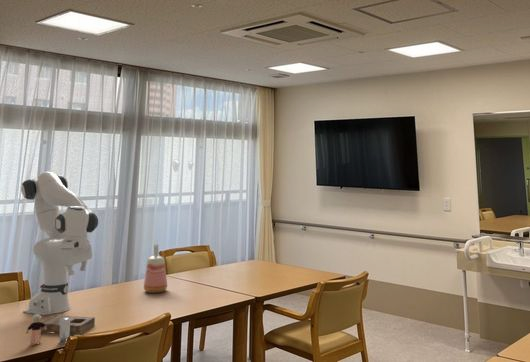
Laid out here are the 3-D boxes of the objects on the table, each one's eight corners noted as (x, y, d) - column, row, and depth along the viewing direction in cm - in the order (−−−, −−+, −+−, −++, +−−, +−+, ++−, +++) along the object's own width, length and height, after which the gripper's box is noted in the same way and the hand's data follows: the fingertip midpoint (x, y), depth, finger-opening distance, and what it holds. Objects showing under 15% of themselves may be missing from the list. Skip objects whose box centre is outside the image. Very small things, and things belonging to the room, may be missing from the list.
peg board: (39, 332, 190) (39, 323, 190) (55, 323, 202) (55, 315, 202) (80, 334, 188) (80, 325, 188) (94, 325, 200) (94, 317, 200)
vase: (145, 288, 270) (146, 242, 270) (168, 288, 272) (169, 242, 272) (141, 294, 256) (142, 246, 256) (165, 294, 257) (166, 246, 258)
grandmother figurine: (28, 347, 172) (28, 317, 172) (24, 345, 175) (25, 315, 175) (47, 342, 178) (48, 313, 178) (44, 340, 181) (44, 311, 181)
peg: (57, 343, 177) (57, 319, 177) (62, 340, 181) (63, 317, 181) (66, 344, 177) (66, 320, 177) (71, 340, 181) (72, 317, 181)
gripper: (82, 239, 199) (82, 268, 198) (56, 245, 178) (57, 277, 178) (95, 239, 198) (95, 268, 198) (70, 245, 178) (71, 277, 177)
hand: (77, 272), depth 188 cm, fingers open, 8 cm apart
